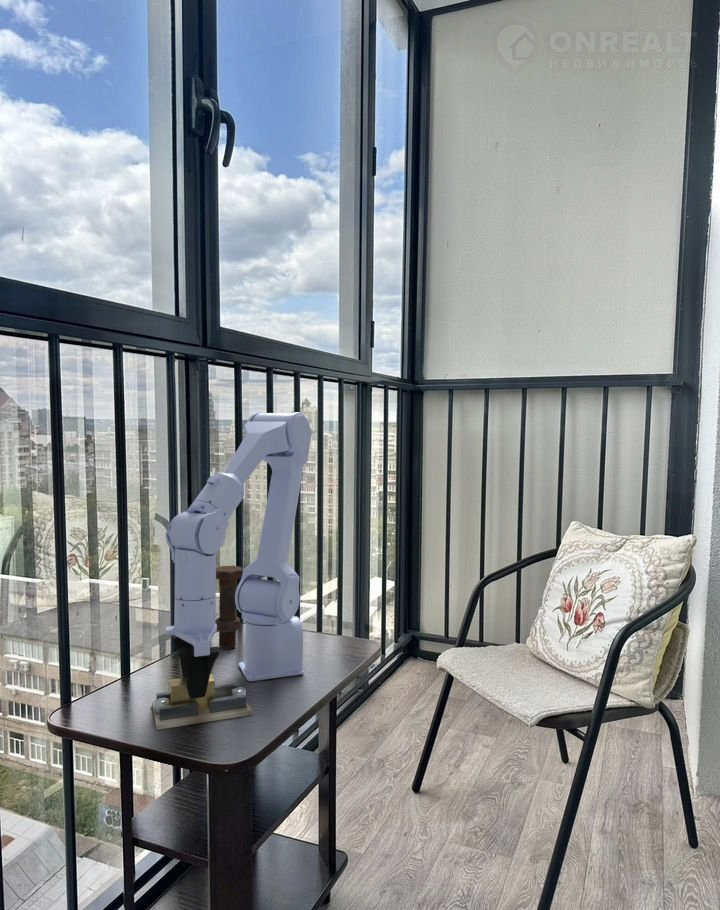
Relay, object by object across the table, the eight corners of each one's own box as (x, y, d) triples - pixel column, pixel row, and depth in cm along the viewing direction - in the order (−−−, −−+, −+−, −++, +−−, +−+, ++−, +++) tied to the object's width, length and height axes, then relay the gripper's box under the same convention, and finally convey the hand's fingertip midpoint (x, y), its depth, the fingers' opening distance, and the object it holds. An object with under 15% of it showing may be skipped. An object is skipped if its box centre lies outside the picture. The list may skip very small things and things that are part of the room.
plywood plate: (240, 693, 96) (240, 689, 96) (251, 714, 89) (251, 710, 89) (152, 705, 91) (152, 701, 91) (156, 729, 84) (156, 725, 84)
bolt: (231, 640, 121) (231, 564, 120) (248, 646, 117) (249, 567, 117) (206, 648, 116) (207, 568, 116) (223, 654, 113) (224, 572, 112)
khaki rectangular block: (211, 700, 92) (211, 674, 92) (214, 708, 89) (214, 680, 89) (169, 707, 89) (169, 679, 89) (171, 714, 87) (171, 686, 87)
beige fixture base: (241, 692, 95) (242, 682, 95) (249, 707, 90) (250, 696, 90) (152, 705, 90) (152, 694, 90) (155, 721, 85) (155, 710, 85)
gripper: (161, 586, 94) (160, 674, 95) (171, 611, 81) (170, 714, 81) (208, 582, 97) (208, 668, 97) (226, 607, 84) (224, 706, 84)
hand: (194, 689), depth 89 cm, fingers open, 5 cm apart
